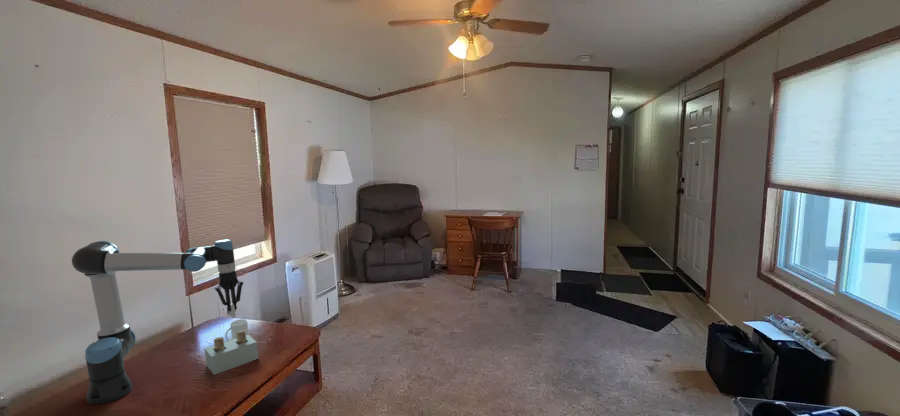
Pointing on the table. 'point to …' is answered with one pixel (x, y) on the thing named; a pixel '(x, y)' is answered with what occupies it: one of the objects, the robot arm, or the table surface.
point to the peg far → (241, 337)
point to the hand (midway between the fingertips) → (233, 316)
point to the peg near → (219, 344)
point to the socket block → (231, 355)
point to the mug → (237, 328)
